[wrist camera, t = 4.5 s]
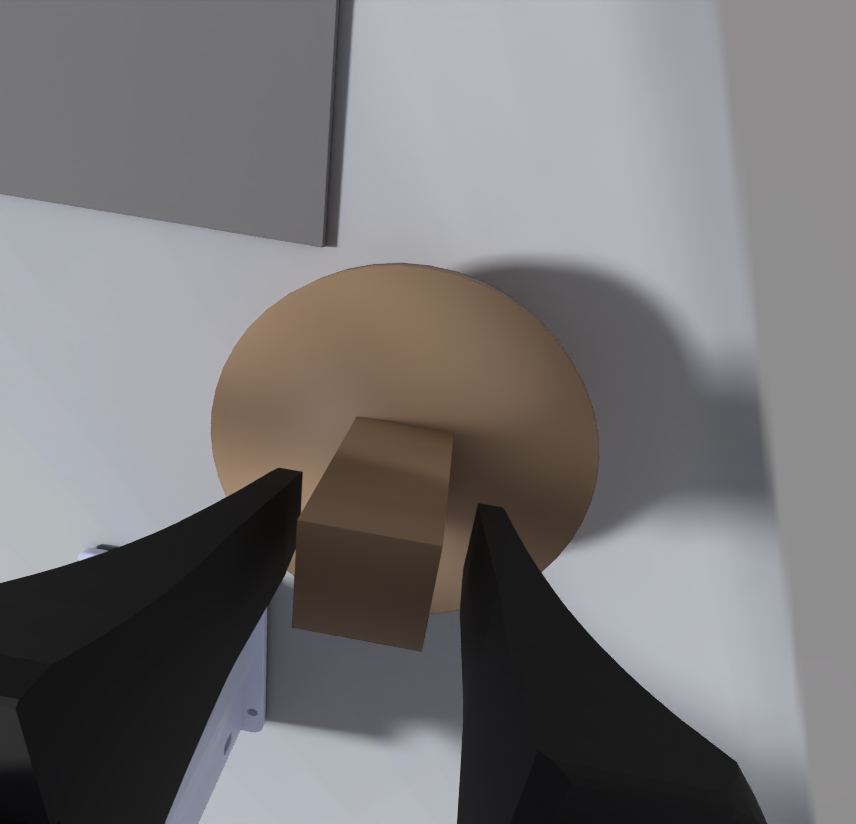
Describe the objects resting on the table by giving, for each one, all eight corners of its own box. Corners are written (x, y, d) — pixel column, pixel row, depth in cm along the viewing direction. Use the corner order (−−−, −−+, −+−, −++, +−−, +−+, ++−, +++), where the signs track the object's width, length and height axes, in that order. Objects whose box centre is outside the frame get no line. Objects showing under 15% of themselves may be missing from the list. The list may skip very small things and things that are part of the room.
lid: (540, 621, 16) (570, 808, 11) (228, 563, 16) (118, 721, 11) (645, 301, 12) (771, 369, 7) (220, 230, 12) (37, 245, 7)
